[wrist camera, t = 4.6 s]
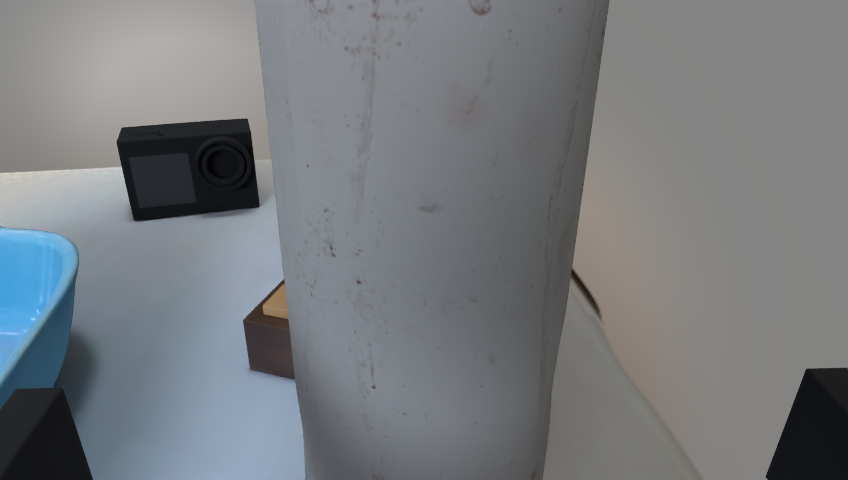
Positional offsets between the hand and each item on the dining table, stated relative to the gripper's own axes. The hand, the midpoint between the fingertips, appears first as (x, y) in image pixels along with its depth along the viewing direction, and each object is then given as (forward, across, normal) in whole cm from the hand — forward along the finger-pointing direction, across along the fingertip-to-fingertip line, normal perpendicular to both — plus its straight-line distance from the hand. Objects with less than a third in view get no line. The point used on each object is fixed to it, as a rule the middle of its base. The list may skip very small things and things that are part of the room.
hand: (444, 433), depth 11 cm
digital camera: (+42, -18, -15) cm, 48 cm away
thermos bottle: (+7, 0, -15) cm, 16 cm away
